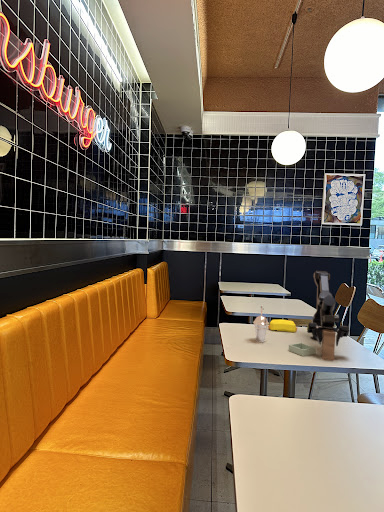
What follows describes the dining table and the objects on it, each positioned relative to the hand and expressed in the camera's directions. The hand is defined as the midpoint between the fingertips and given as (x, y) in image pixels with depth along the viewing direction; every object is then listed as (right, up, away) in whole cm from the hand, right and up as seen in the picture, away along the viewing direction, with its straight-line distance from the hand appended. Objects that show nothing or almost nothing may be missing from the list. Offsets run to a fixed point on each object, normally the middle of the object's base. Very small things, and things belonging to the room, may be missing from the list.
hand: (328, 345), depth 163 cm
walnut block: (0, -7, +2) cm, 7 cm away
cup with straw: (-28, -4, +24) cm, 37 cm away
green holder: (-10, -6, +8) cm, 14 cm away
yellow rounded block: (-9, -4, +50) cm, 51 cm away
